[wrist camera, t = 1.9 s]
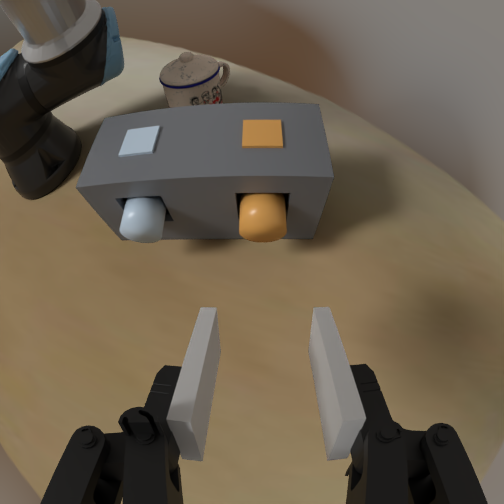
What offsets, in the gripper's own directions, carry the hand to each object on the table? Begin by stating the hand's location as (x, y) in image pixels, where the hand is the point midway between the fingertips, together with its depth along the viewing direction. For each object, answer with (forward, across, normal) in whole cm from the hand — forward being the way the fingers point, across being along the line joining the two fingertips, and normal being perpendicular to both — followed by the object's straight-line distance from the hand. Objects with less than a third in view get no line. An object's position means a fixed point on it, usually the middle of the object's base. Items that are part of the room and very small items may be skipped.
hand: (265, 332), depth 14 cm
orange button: (+17, 0, 0) cm, 17 cm away
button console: (+25, -6, +1) cm, 26 cm away
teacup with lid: (+39, -10, +14) cm, 43 cm away
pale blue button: (+17, -12, 0) cm, 21 cm away
